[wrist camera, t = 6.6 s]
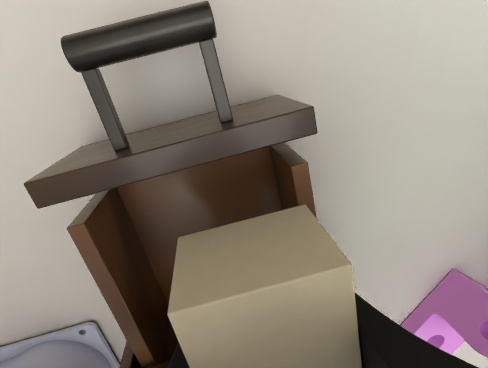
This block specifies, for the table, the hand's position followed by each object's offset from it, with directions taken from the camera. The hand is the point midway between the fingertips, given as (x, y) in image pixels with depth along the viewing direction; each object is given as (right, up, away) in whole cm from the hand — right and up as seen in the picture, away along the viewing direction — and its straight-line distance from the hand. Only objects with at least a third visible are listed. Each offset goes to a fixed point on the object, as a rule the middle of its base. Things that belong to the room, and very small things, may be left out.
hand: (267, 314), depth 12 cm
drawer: (-4, +5, +7) cm, 10 cm away
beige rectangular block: (0, +1, +1) cm, 1 cm away
